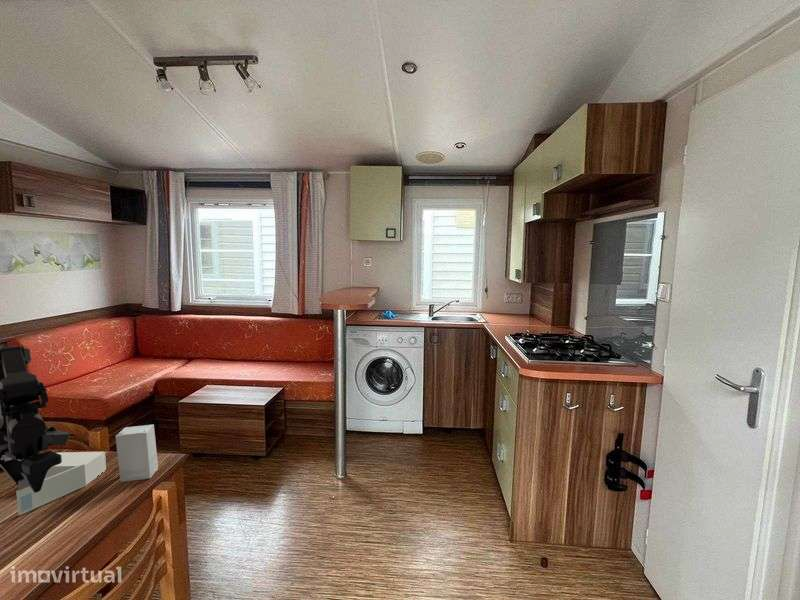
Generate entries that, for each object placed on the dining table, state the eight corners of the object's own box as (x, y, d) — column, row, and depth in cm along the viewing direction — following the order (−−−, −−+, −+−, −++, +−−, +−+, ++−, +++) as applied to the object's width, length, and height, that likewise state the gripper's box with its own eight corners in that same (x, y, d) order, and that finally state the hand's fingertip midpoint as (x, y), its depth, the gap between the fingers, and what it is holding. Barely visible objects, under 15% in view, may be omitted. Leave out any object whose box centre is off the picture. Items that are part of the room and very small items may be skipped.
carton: (34, 486, 103) (32, 466, 103) (58, 471, 111) (57, 452, 111) (85, 485, 104) (84, 465, 104) (106, 470, 112) (105, 451, 112)
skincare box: (158, 468, 113) (156, 423, 112) (149, 479, 108) (147, 432, 106) (128, 471, 112) (125, 425, 110) (117, 483, 106) (114, 434, 104)
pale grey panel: (19, 515, 91) (16, 483, 90) (18, 514, 91) (15, 482, 91) (86, 485, 104) (84, 456, 103) (84, 485, 104) (82, 456, 103)
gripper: (84, 423, 95) (87, 479, 96) (43, 411, 102) (47, 464, 103) (28, 441, 85) (33, 504, 86) (-13, 427, 91) (-7, 486, 93)
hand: (28, 487), depth 92 cm, fingers open, 8 cm apart
